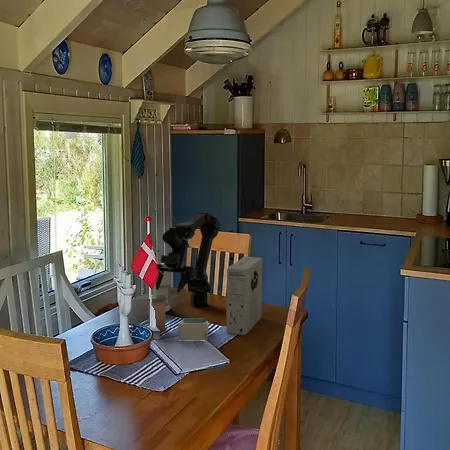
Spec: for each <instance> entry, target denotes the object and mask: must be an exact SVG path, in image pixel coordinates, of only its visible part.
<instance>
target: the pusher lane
mask: <svg viewBox="0 0 450 450" xmlns="http://www.w3.org/2000/svg"><path fill="white" fill-rule="evenodd" d="M177 326H178V328H177V331H178V334H177V336H178V338H177V341H178V340H205V341H207V342H208V335H209V321H208V320H205V321H204V323H184V320H181V321H180V322H178V324H177Z"/></svg>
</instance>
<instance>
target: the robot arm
mask: <svg viewBox="0 0 450 450" xmlns="http://www.w3.org/2000/svg"><path fill="white" fill-rule="evenodd" d="M199 228H200V229H199ZM198 229H199V231H200V234H201V241H200V245H199V249H198V254H197V258H196V262H195V267H193V266H190V265H184V266H183V264H184V262H185V261H186V258H185V256H186V252H187V249H189V248H190V244H189V242H188V240H191V239H192V238H193V237H194V236H195V234H196V231H197V230H198ZM220 229H221V222H220V221H219V219H218V218H216V217H215V216H213V215H211V213H210V212H205V211H200V212H197V213H196V215H194V216H193V217H192V218H190V219H189V220H188V221H186V222H180V223H177V224H176V225H175V226H174V227H171V226H170V227H169V228H168V229H167V230H166V231H165V232H164V233H163V234H162V237H161V238H162V241H163V242H164V243H165V244H166V245H167V246H168V247H169V248H170V249H171V250H170V252H168V254H167V255H164V254H163V255H160V262H156V263H157V266H158V270H159V276H158V279H157V282H156V289H157V290H158V289H159V287H160V284H161V281H162V279H163V276H164V275H163V273H164V271H165V273H167V272H168V273H176V274H180V279H179V283H178V286H177V290H176V292H177V293H180V292H181V291H182V290H183V289H184V287H185V286H187V291H188V292H191V294H190V302H189V305H190V306H193V307H194V308H195V309H196V308H204V307H208V306H210V304H209V303H208V294H210V293H211V290H212V289H211V288H212V286H211V284H210V282H209V276H208V272H207V267H208V263H209V258H210V254H211V250H212V249H211V248H212V244H213V240H214V239H215V238H216V237H217V236H218V234H219V231H220ZM185 239H187V240H185ZM160 263H164V265H165V266H163V265H161V264H160Z"/></svg>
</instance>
